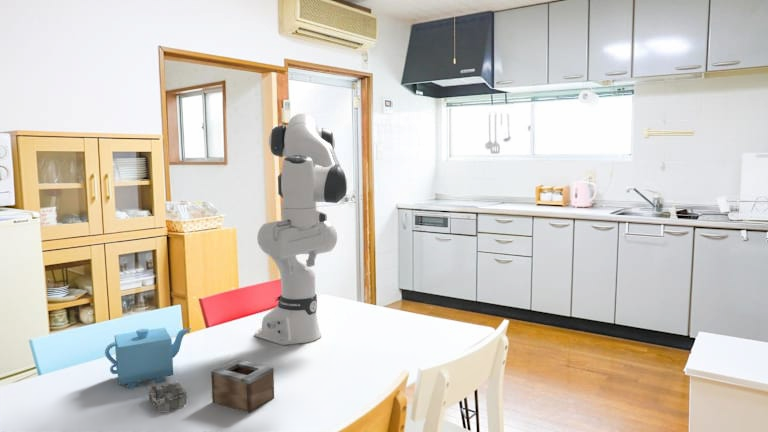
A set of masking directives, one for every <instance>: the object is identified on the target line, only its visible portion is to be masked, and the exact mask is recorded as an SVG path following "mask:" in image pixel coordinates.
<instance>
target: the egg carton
mask: <svg viewBox="0 0 768 432" xmlns="http://www.w3.org/2000/svg"><path fill="white" fill-rule="evenodd" d="M147 388H148V389H149V392H148V395H147V396H148V402H149V403H152V406H153V407H155V408H157V412H163V413H167V412H170V411H171V409H173V408H179V409H181V408H184V406H185V405H187V404H188V403H187V394H188V392H187V391H186V389H185V388H184V387H183V386H182V385H181V384H180V382H178V381H175V382H173V383H167V384H162V385H161V387H159V388H157V385H150V384H147Z"/></svg>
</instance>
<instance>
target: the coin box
mask: <svg viewBox="0 0 768 432" xmlns="http://www.w3.org/2000/svg"><path fill="white" fill-rule="evenodd" d="M274 372H275V371H274V366H273V367H272V366H268V365H264V364H260V363H256V362H251V361H246V360H243V359H239V358H237V359H234V360H232V361H229V362H227V363H226V364H223V365H221V366H219V367H217V368H215V369H212V370H211V373H210V374H211V375H210V376H211V396H212V400H211V401H212V402H211V403H215V404H217V405H220V406H225V407H227V408H231V409H235V410H239V411H242V412H245V413H249V414H250V413H253V412H254V411H255V410H257V409H258V408H260V407H261V406H264V405H265V404H267V403H268V402H271V401H272V400H273V399H275V377H274V376H275V375H274Z"/></svg>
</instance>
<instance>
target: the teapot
mask: <svg viewBox="0 0 768 432" xmlns="http://www.w3.org/2000/svg"><path fill="white" fill-rule="evenodd" d="M191 329H192V327H189V328H188V327H187V328H183V329H181V330H179V331H178V332H177V334H176V337H175V338H174V339H175V340H174V341H173V340H172V337H171V336H170V334H169V331H167V328H166V327H159V328H154V329H153V328H152V329H149V328H139V329H137V330H136V331H133V332H127V333H121V334H114V341H113V342H110V343H109V344H108V345H107V347H106V348H105V350H104V354H105V357H106V359H107V360H108V361H110V363H111V366H110V367H109V371H110V373H111V374H113V375H117V378H118V382H119V383H118V384H119V386H122V385H123V386H125V385H127V386H126V387H127V388H128V389H133V388H134V387H135V388H137V387H139V383H140V382H144V381H148V380H149V381H150V380H153V382H154V383H157V384H160V383H164V382H165V381H166V378H165V377H170V376H174V361H173V359H174V358H175V357H176V356H177V355H178V353H179V351H180V348H181V344H182V342H183V341H182V340H183V338H184V336H185V334H186V333H188V332H189V331H191ZM113 347H115V348H114V349H115V359H114V357H112V355H111V354H110V350H111V349H112V348H113ZM114 368H116V369H114Z"/></svg>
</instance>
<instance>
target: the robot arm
mask: <svg viewBox="0 0 768 432" xmlns="http://www.w3.org/2000/svg"><path fill="white" fill-rule="evenodd" d="M318 126H319V125H318V124H317V121H316V119H314V117H313V116H312V115H310V114H307V113H297V114H295V115H293V116H292V117H291V118H290V120H289V121H288V122H287V125H284V124H282V125H278V126H275V127H273V128H272V130H271V132H270V134H269V137H268V146H269V148H270V149H269V150H270V152H271V154H272V155H274V156H276V157H280V158H283V160H282V168H281V172H280V174H278V175H277V190H278V193H277V194H278V196H280V197H281V198H282V202H281V220H275V221H270V222H266V223H264V224H262V225H261V226H260V228H259V229H258V232H257V236H256V237H257V244H258V246H259V248H260V249H261V251H262V252H263V253H264V254H266V255H268V256H269V257H270V258H271V259H272V261H274V263H275V265H276V267H277V269H278V271H279V276H280V282H281V283H280V284H281V285H280V286H281V294H280V295H279V296H276V297H275V298H274V302H278V303H277V305H276V306H275V307H274V308H273V309H271V310H270V311H269V312H268V313H266V314H265V315H264V317H263V318H262V322H261V327H260V328H258V329H257V330H255V332H254V337H257V338H260V339H263V340H266V341H269V342H271V343H275V344H278V345H281V346H285V345H287V346H288V345H291V344H305V343H310V342H313V341H317V340H318V339H320V337H321V336H322V334H321V331H320V327H319V321H318V315H317V309H318V306H317V305H318V296H317V293H316V273H315V271H314V270H313V269H312V267H315V263H316V262H315V261H316V258H317V255H319V254H326V253H329V252H331V251H333V249H334V248H335V246H336V245H337V241H338V233H337V229H336V228H335V226H334V225H333V224H332V223H331V222H330V221H328V216H327V213H325V212H321V211H320V210H319V208H318V205H317V204H318V203H330V204H332V203H333V204H337V203H339V202H341V201H342V200H343V199H344V198H345V197H346V196H347V191H348V179H347V176H346V174H345V171H344V169H343V168H342V167H341V165H340V162H339V160H338V158H337V154H336V153H335V147H336V146H335V145H336V141H335V137H334V135H333V134H334V132H332V130H330V129H327V128H324V127H322V128H320V127H318ZM316 166H317V167H316ZM318 166H319V167H318ZM317 202H318V203H317ZM298 255H308V258H307V259H306V260H305V261H306V264H304V263H303V262H301V261H300V260H299V259H298V258H297V256H298Z"/></svg>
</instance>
